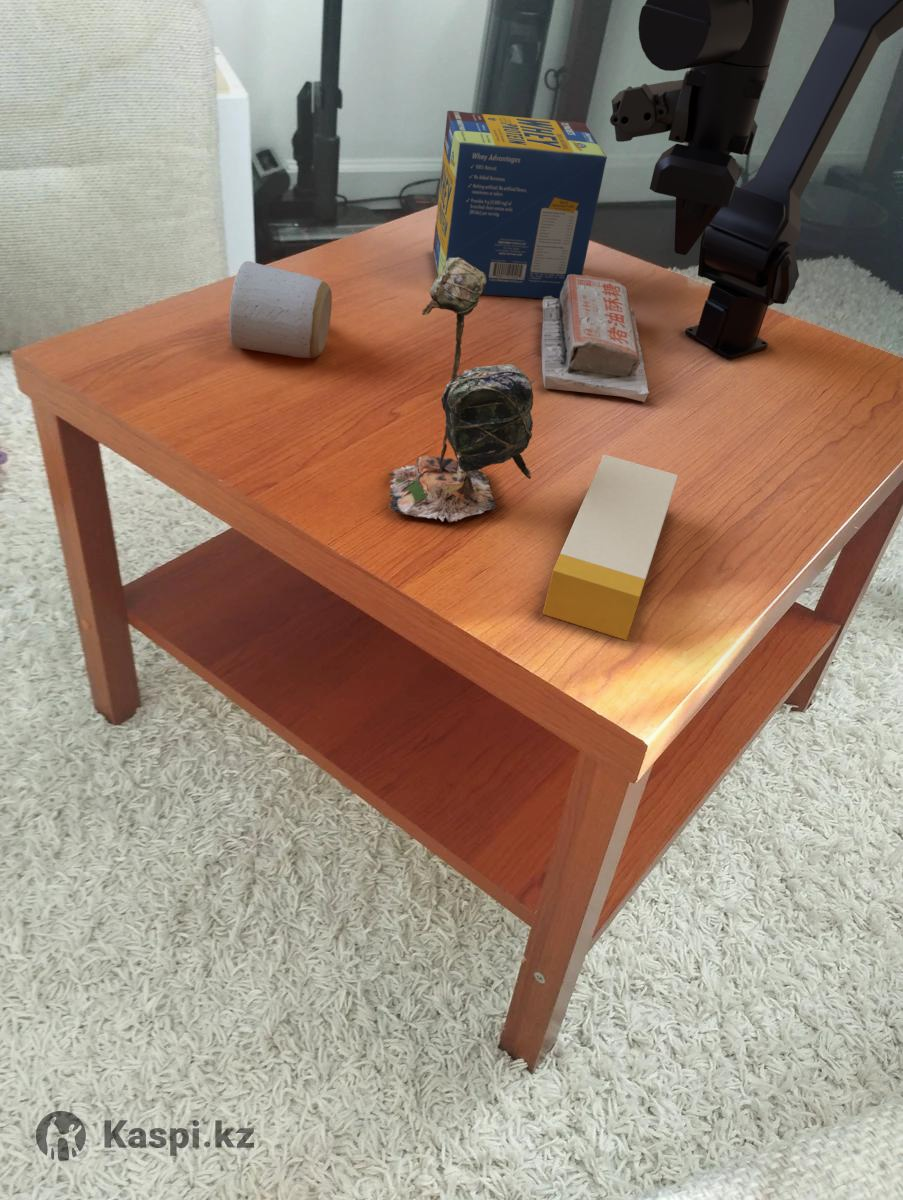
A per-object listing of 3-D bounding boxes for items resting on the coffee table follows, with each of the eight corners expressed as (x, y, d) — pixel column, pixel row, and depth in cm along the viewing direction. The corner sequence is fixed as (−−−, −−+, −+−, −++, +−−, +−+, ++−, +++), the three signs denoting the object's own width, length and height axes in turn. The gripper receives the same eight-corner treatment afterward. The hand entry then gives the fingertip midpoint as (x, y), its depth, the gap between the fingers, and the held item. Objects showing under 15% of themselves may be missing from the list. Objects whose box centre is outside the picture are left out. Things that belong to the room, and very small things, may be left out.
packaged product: (548, 264, 103) (642, 277, 103) (539, 308, 106) (631, 321, 107) (550, 343, 89) (659, 358, 90) (541, 391, 93) (646, 405, 93)
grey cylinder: (318, 374, 90) (320, 293, 85) (228, 361, 90) (226, 279, 85) (338, 325, 98) (341, 248, 93) (255, 313, 98) (255, 236, 93)
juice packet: (603, 453, 78) (552, 570, 66) (678, 474, 77) (640, 596, 65) (593, 495, 81) (542, 614, 69) (665, 516, 80) (626, 640, 68)
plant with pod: (524, 540, 75) (576, 287, 62) (375, 517, 75) (397, 260, 62) (528, 480, 81) (576, 239, 68) (391, 459, 81) (413, 214, 68)
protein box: (430, 253, 114) (445, 108, 104) (560, 262, 116) (588, 122, 106) (439, 293, 106) (456, 141, 96) (579, 302, 109) (610, 154, 99)
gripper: (653, 18, 86) (613, 201, 96) (609, 59, 72) (567, 267, 82) (782, 43, 84) (727, 227, 94) (761, 91, 70) (700, 300, 80)
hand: (680, 252), depth 88 cm, fingers closed
